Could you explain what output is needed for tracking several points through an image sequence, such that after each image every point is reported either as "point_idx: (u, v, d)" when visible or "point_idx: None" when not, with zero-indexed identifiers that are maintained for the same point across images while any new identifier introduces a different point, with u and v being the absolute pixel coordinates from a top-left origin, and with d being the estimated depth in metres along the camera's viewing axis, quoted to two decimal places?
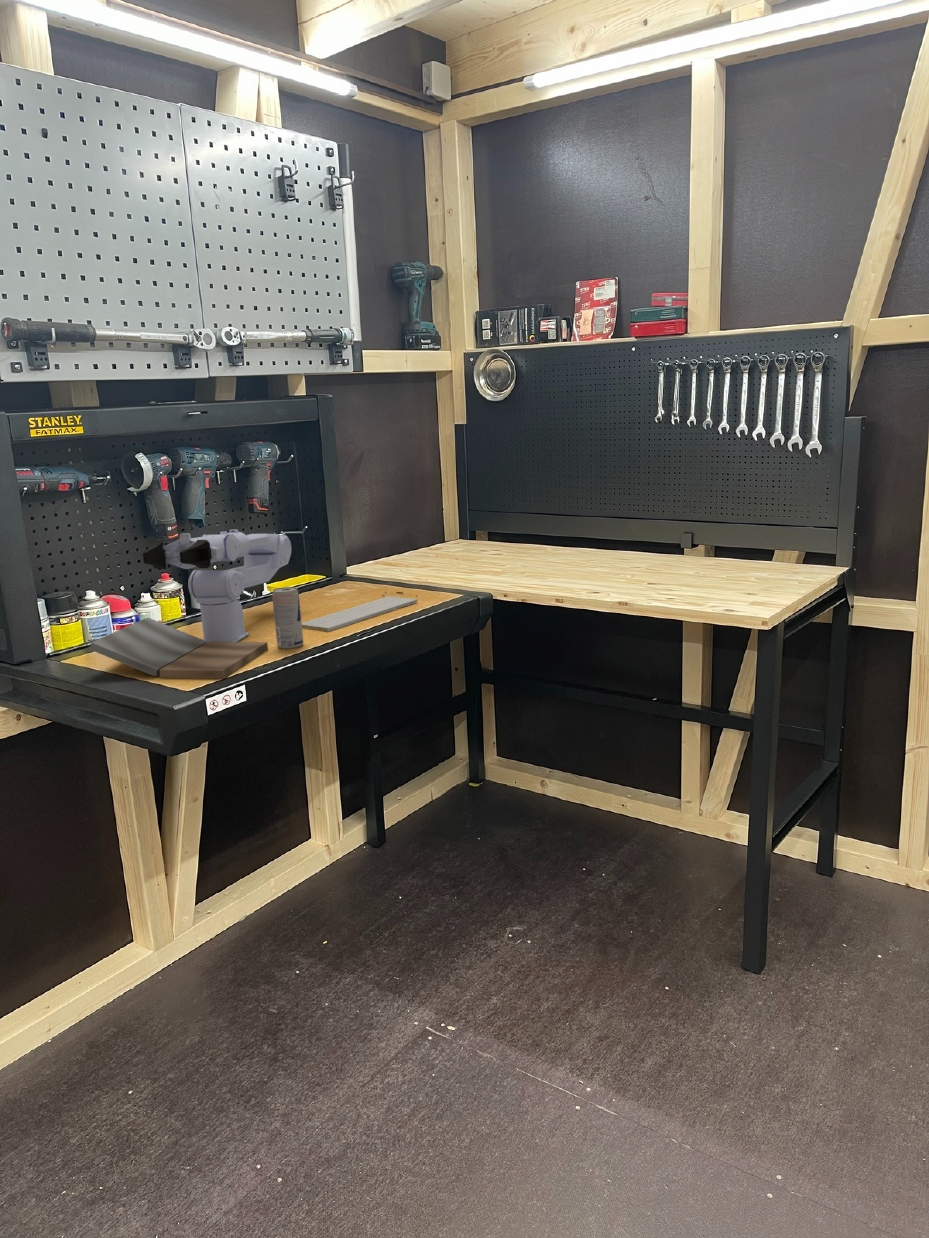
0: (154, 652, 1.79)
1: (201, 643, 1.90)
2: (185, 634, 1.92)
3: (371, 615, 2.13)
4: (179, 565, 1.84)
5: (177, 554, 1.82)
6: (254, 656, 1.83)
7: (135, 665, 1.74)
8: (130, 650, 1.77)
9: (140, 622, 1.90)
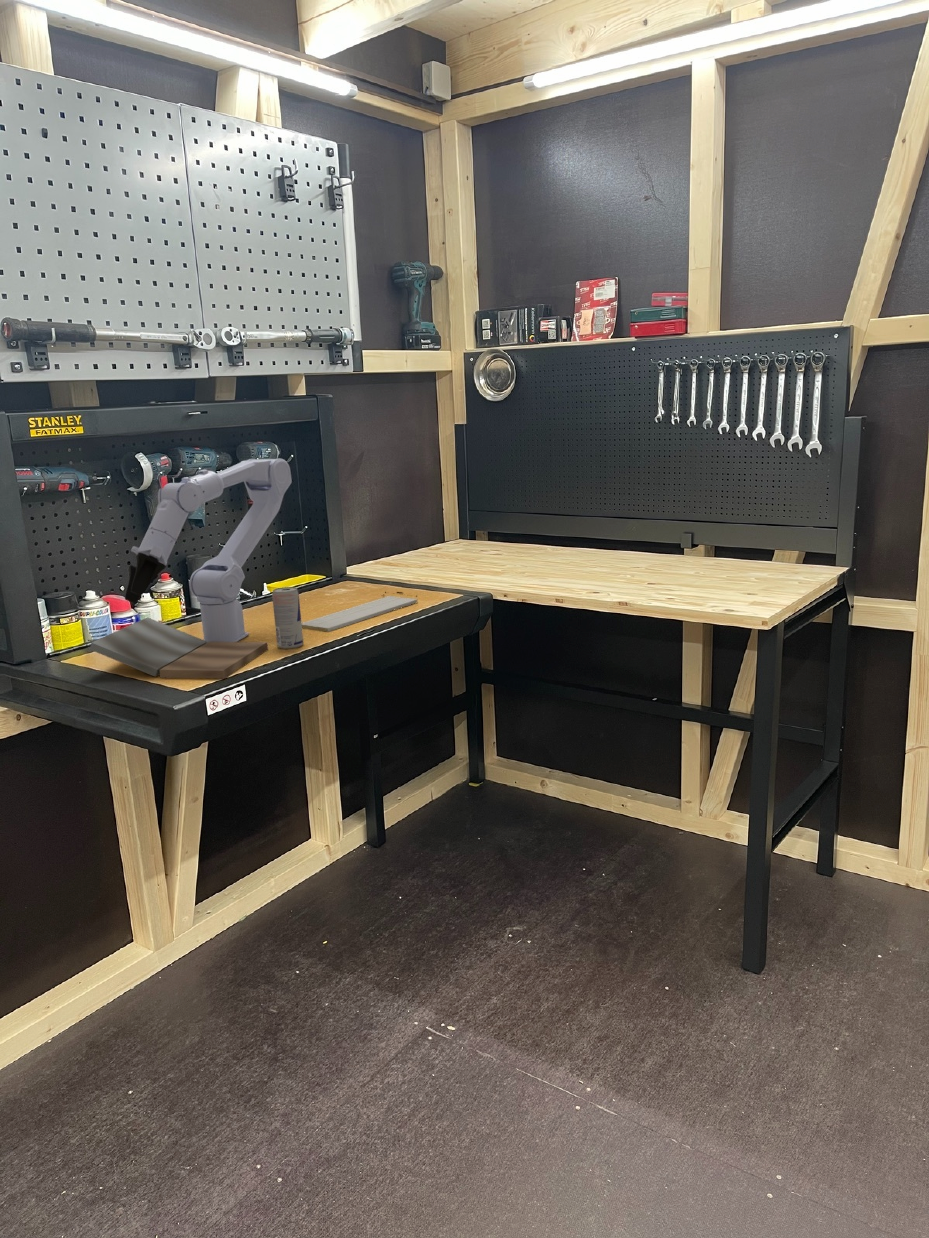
0: (154, 652, 1.79)
1: (201, 643, 1.90)
2: (185, 634, 1.92)
3: (371, 615, 2.13)
4: None
5: None
6: (254, 656, 1.83)
7: (135, 665, 1.74)
8: (130, 650, 1.77)
9: (140, 622, 1.90)
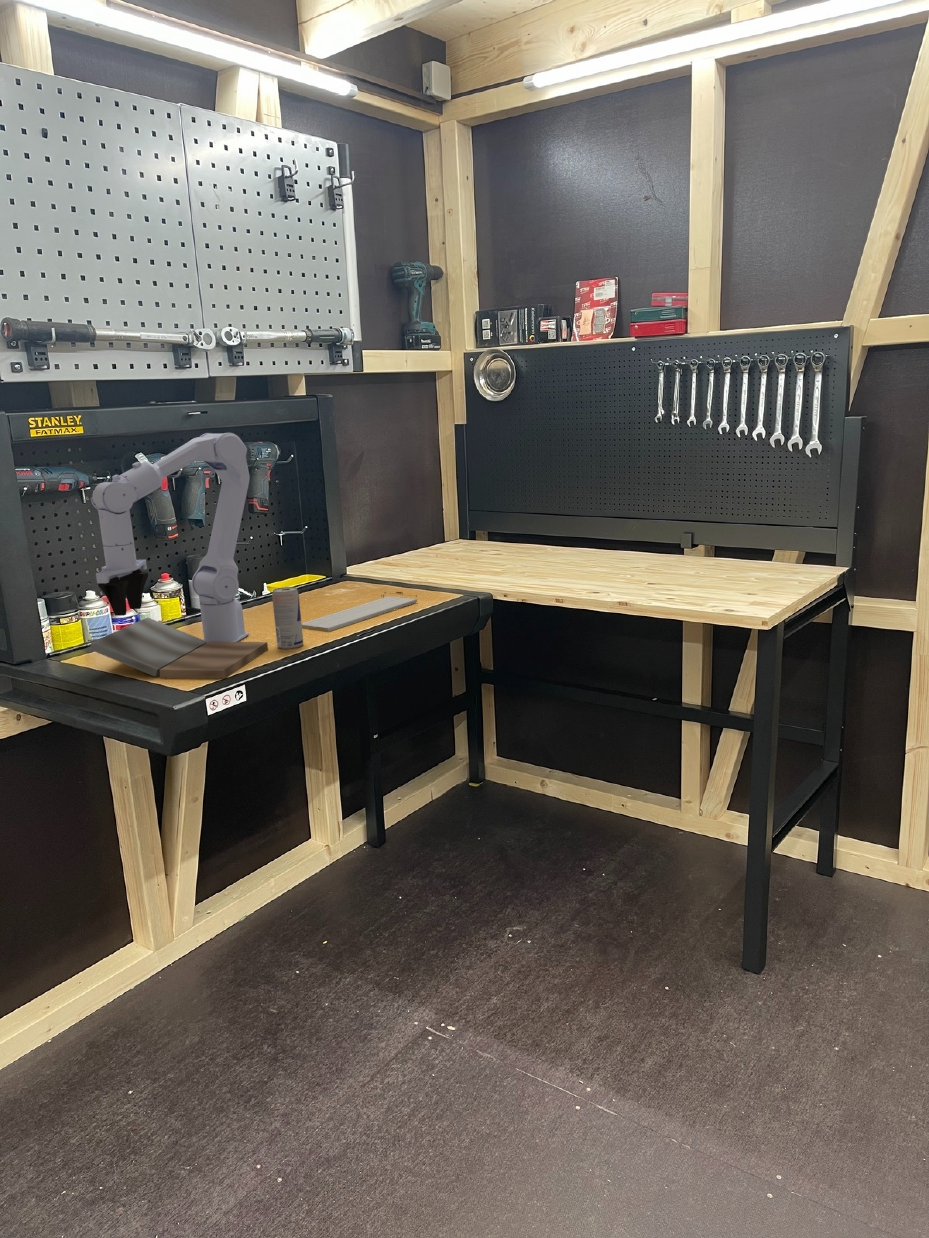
0: (154, 652, 1.79)
1: (201, 643, 1.90)
2: (185, 634, 1.92)
3: (371, 615, 2.13)
4: None
5: (126, 574, 1.82)
6: (254, 656, 1.83)
7: (135, 665, 1.74)
8: (130, 650, 1.77)
9: (140, 622, 1.90)
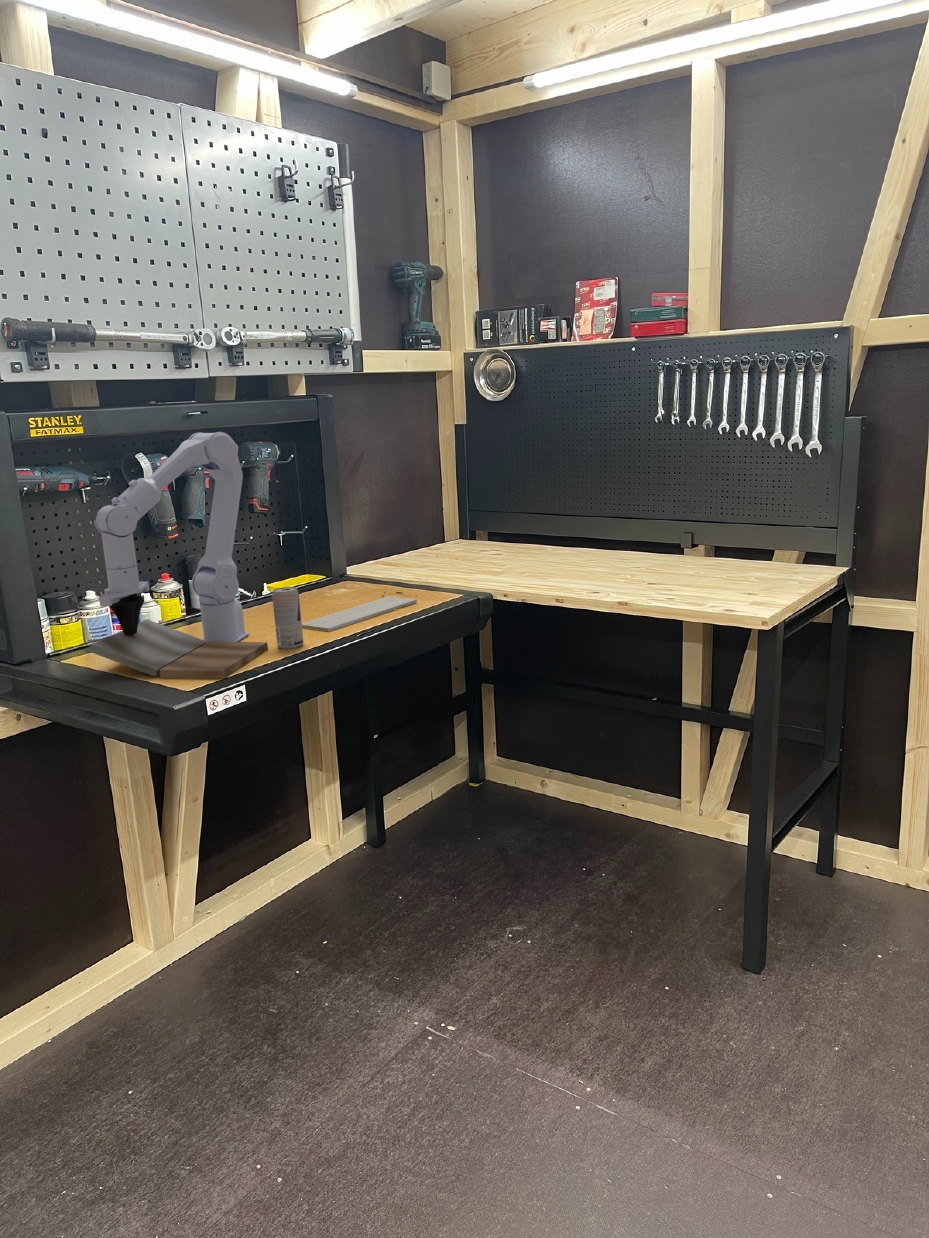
0: (154, 653, 1.79)
1: (201, 643, 1.90)
2: (184, 635, 1.92)
3: (371, 615, 2.13)
4: None
5: None
6: (254, 656, 1.83)
7: (135, 666, 1.74)
8: (129, 651, 1.77)
9: (140, 624, 1.90)
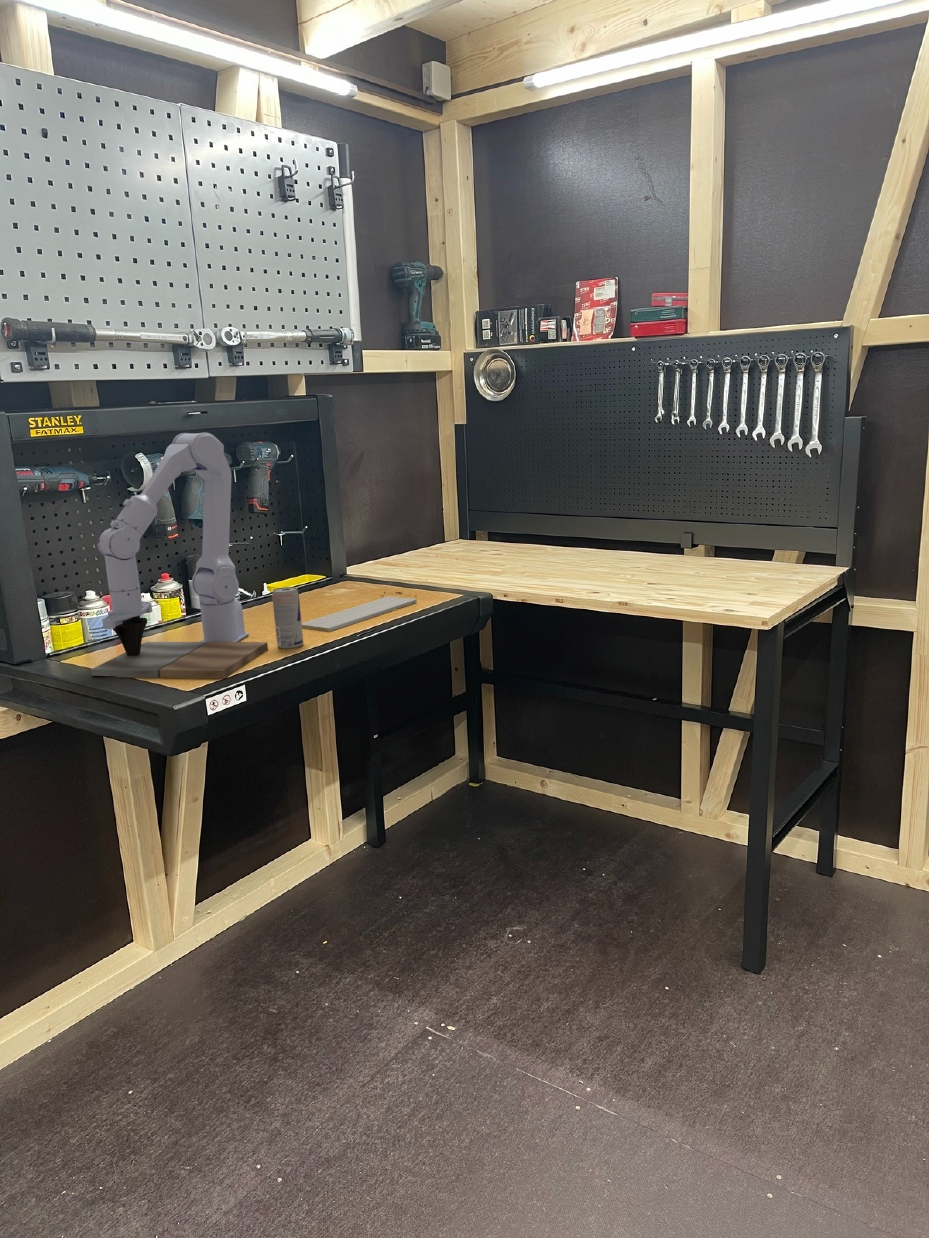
0: (154, 660, 1.80)
1: (201, 644, 1.91)
2: (184, 642, 1.92)
3: (371, 615, 2.13)
4: (142, 612, 1.84)
5: None
6: (254, 656, 1.83)
7: (136, 674, 1.74)
8: (129, 665, 1.78)
9: None
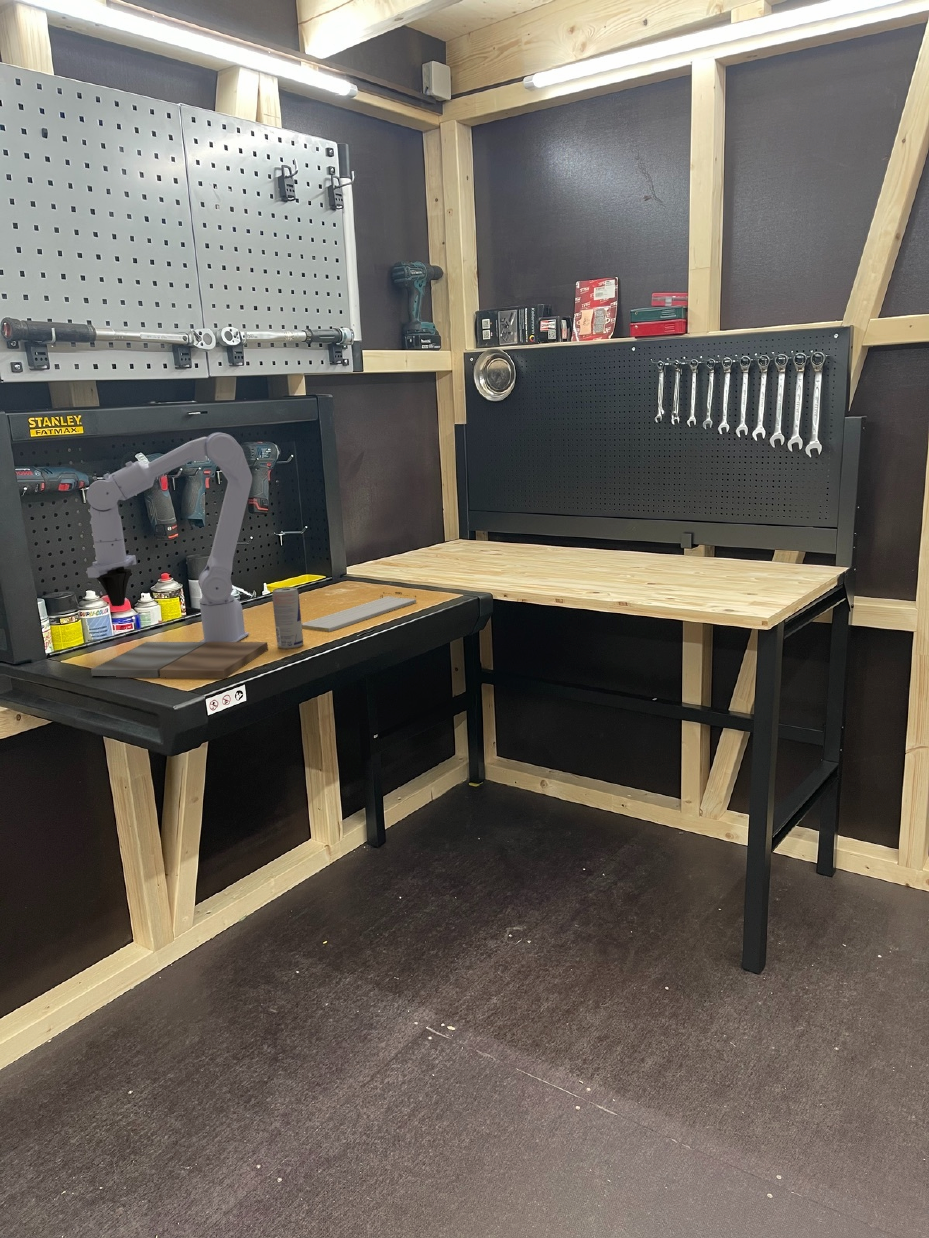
0: (154, 660, 1.80)
1: (201, 644, 1.91)
2: (184, 642, 1.92)
3: (371, 615, 2.13)
4: (126, 563, 1.89)
5: None
6: (254, 656, 1.83)
7: (136, 674, 1.74)
8: (129, 665, 1.78)
9: (139, 646, 1.92)
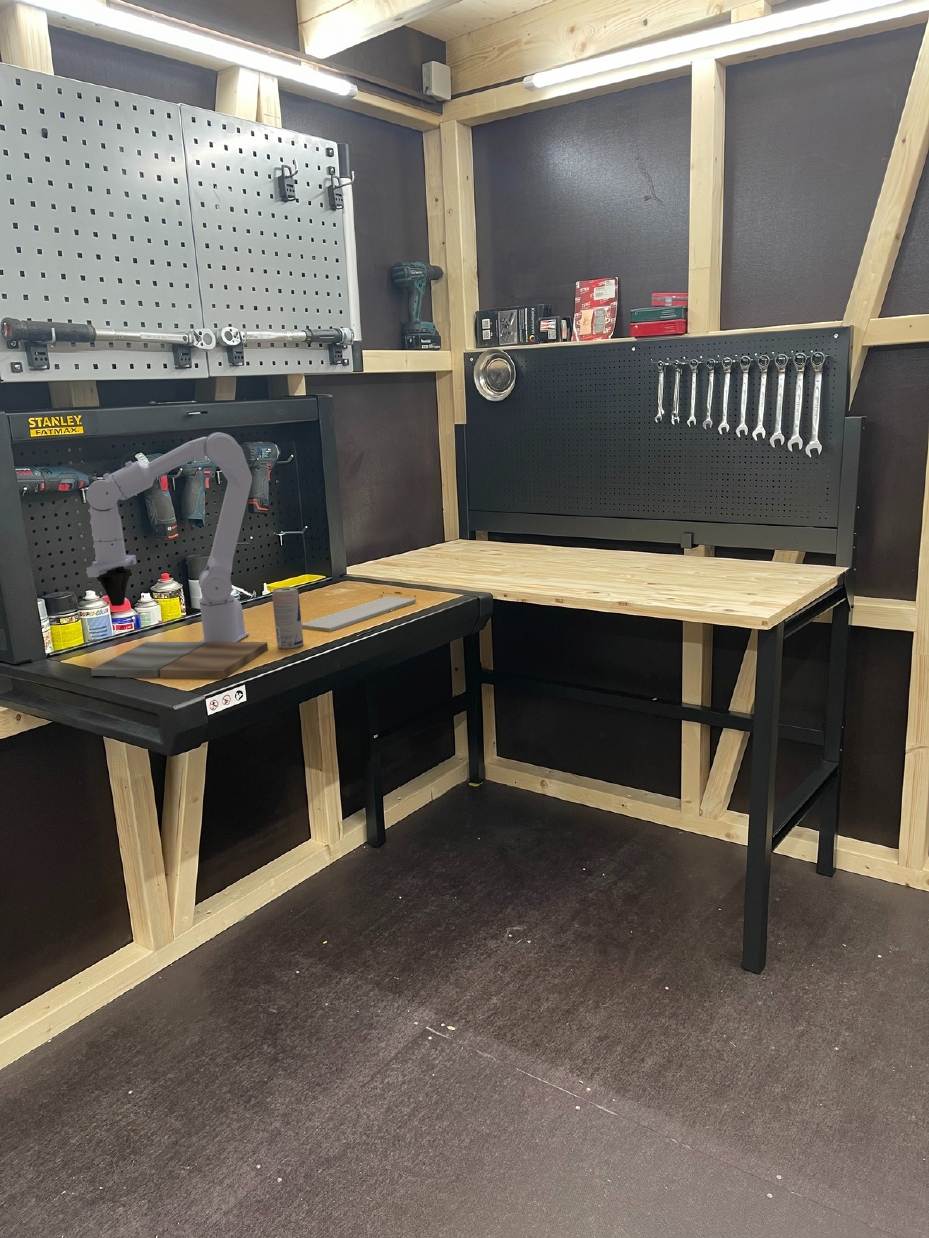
0: (154, 660, 1.80)
1: (201, 644, 1.91)
2: (184, 642, 1.92)
3: (371, 615, 2.13)
4: None
5: None
6: (254, 656, 1.83)
7: (136, 674, 1.74)
8: (129, 665, 1.78)
9: (139, 646, 1.92)
